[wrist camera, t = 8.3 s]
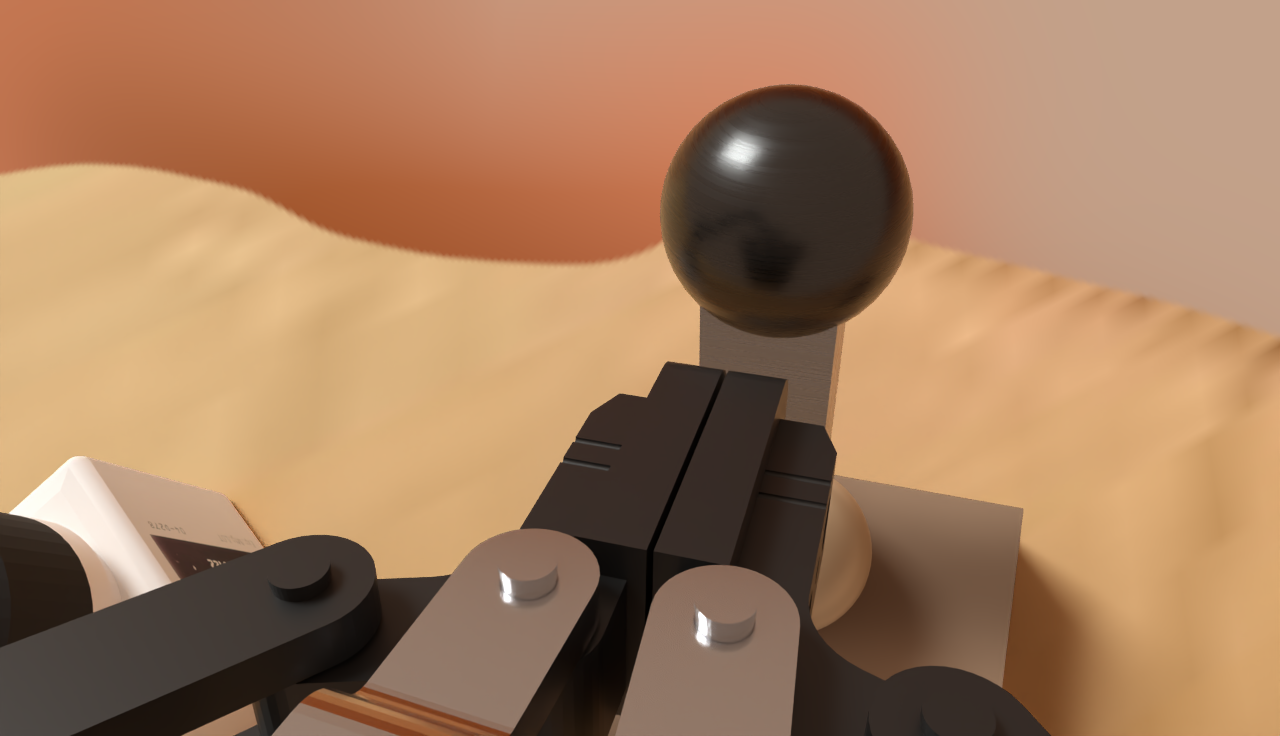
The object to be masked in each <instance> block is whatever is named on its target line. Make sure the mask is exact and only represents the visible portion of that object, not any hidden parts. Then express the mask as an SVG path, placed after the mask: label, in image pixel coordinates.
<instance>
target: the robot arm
mask: <svg viewBox="0 0 1280 736" xmlns="http://www.w3.org/2000/svg"><path fill="white" fill-rule="evenodd" d="M787 397H788V379H783V378H776V377H770V376H763V375H756V374H750V373H743V372H736V371H728V373H727V375H726V371H725V370H722V369H715V368H708V367H702V366H695V365H689V364H682V363H675V362H666V363H665V365H664V367H663V368H662V370H661V372H660V374H659V376H658V378H657V380H656V382H655V384H654V385H653V387H652V389H651V391H650V393H649V395H648V397H647V398H645V397H639V396H633V395H626V394H618V395H617V396H615V397H614V398H612V399H611V400H609V401H608V402H606V403H605V404H603V405H602V406H600V407H598V408H597V409H595V410H594V411H592V412H591V413H590V415H589V416H588V418H587V420H586V421H585V423H584V425H583V426H582V428H581V430H580V431H579V433H578V434H577V436H576V441H575V442H573V443H572V444H571V446H570V448H569V449H568V451H567V453H566V454H565V456H564V459H563V463H561V462H560V464H559V466H558V467H557V469H556V471H555V472H554V474H553V476H552V477H551V479H550V480H549V482H548V484H547V485H546V487H545V489H544V490H543V492H542V494H541V495H540V497H539V499H538V500H537V502H536V503H535V505H534V507H533V508H532V510H531V512H530V513H529V515H528V517H527V518H526V520H525V522H524V523H523V525H522V526H521V528H520V530H514V531H509V532H506V533H502V534H499V535H497V536H494V537H492V538H489V539H488V540H486V541H484V542H482V543H480V544H479V545H478V546H476V547H475V548H474V549H473V550H471V552H470V553H469V554H468V555H467V556H466V557H465V558H464V559H463V561H462V562H461V563H460V564H459V566H458V567H457V568H456V570H455V571H454V572H453V573H452V574H451V575H446V576H437V577H420V578H395V579H377V575H376V569H375V564H374V561H373V559H372V557H371V555H370V554H369V553H368V552H367V550H366V549H365V548H363V547H362V546H360V545H359V544H357V543H356V542H353V541H351V540H349V539H346V538H342V537H338V536H330V535H310V536H301V537H297V538H292V539H288V540H285V541H282V542H279V543H276V544H273V545H271V546H268V547H265V548H263V549H260V550H257V551H255V552H252V553H249V554H247V555H244V556H241V557H239V558H236V559H234V560H231V561H228V562H226V563H223V564H220V565H218V566H215V567H212V568H210V569H207V570H204V571H202V572H199V573H196V574H194V575H191V576H189V577H186V578H183V579H181V580H178V581H175V582H173V583H170V584H167V585H165V586H162V587H159V588H157V589H154V590H151V591H149V592H146V593H144V594H141V595H138V596H136V597H133V598H130V599H128V600H125V601H122V602H120V603H117V604H114V605H112V606H109V607H107V608H104V609H101V610H99V611H96V612H93V613H91V614H88V615H85V616H83V617H80V618H77V619H75V620H72V621H69V622H67V623H64V624H62V625H59V626H56V627H54V628H51V629H48V630H46V631H43V632H40V633H38V634H35V635H32V636H30V637H27V638H24V639H22V640H19V641H17V642H14V643H11V644H9V645H6V646H3V647H1V648H0V736H182V735H184V734H186V733H188V732H191V731H193V730H195V729H197V728H199V727H202V726H204V725H206V724H208V723H210V722H213V721H215V720H217V719H219V718H221V717H224V716H226V715H228V714H230V713H232V712H235V711H237V710H239V709H241V708H243V707H245V706H248V705H250V704H252V706H253V710H254V714H255V717H256V721H257V725H255V726H253V727H251V728H249V729H247V730H245V731H242V732H240V733H238V734H236V735H234V736H608V734H609V731H610V729H611V726H612V723H613V721H614V718H615V716H616V715H620V720H619V724H618V727H617V731H616V735H615V736H1051V735H1050V734H1049V733H1048V732H1047V731H1046V730H1045V729H1044V728H1043V727H1042V726H1041V724H1040V723H1039V722H1038V721H1037V720H1036V719H1035V718H1034V717H1033V716H1032V715H1031V714H1030V713H1029V712H1028V710H1027V709H1026V708H1025V707H1024V706H1023V705H1022V704H1021V703H1020V702H1019V701H1018V700H1017V699H1015V698H1014V697H1013V696H1012V695H1011V694H1010V693H1008V692H1007V691H1006V690H1004V689H1003V688H1001V687H1000V686H998V685H997V684H995V683H993V682H991V681H990V680H988V679H986V678H983V677H981V676H979V675H976V674H974V673H971V672H968V671H965V670H961V669H957V668H951V667H946V666H920V667H914V668H910V669H906V670H903V671H901V672H899V673H896V674H894V675H893V676H891V677H890V678H888V679H887V680H883V679H881V678H879V677H877V676H875V675H873V674H871V673H868V672H866V671H864V670H862V669H861V668H859V667H857V666H855V665H853V664H852V663H850V662H848V661H847V660H845V659H844V658H843V657H841V656H840V655H839V654H837V653H836V652H835V651H834V650H833V649H832V648H831V647H830V646H829V645H828V644H827V643H826V642H825V641H824V640H823V638H822V637H821V636H820V635H819V633H818V631H817V629H816V628H815V626H814V624H813V621H812V618H811V616H812V609H813V605H814V599H815V594H816V589H817V582H818V578H819V573H820V567H821V562H822V556H823V551H824V543H825V536H826V529H827V522H828V514H829V507H830V500H831V492H832V485H833V478H834V471H835V463H836V456H837V452H836V450H835V448H834V446H833V444H832V442H831V440H830V438H829V435H828V433H827V431H826V429H825V427H824V426H821V425H815V424H809V423H803V422H796V421H790V420H785V416H786V407H787Z"/></svg>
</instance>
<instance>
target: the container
mask: <svg viewBox="0 0 1280 736" xmlns="http://www.w3.org/2000/svg"><path fill="white" fill-rule="evenodd" d="M263 548H264V547H263V546H262V545H261V543H260V542H259V540H258V539H257V538H256V536H255V535H254V533H253V532H252V531H251V529H250V528H249V527H248V525H247V524H246V522H245V521H244V520H243V518H242V517H241V515H240V514H239V513H238V511H237V510H236V508H235V507H234V506H233V504H232V503H231V502H230V500H229V499H228V498H227V497H226V496H225V495H224V494H222V493H219V492H215V491H212V490H208V489H204V488H200V487H197V486H193V485H189V484H186V483H182V482H178V481H175V480H171V479H167V478H163V477H160V476H156V475H152V474H149V473H145V472H141V471H137V470H134V469H130V468H126V467H123V466H119V465H115V464H111V463H108V462H104V461H100V460H97V459H93V458H89V457H85V456H76V457H73V458H71V459H69V460H68V461H67V462H66V463H64V464H63V465H62V466H61V467H60V468H59V469H58V470H57V471H55V472H54V473H53V474H52V475H51V476H50V477H49V478H48V479H47V480H45V481H44V482H43V483H42V484H41V485H40V486H39V487H38V488H37V489H35V490H34V491H33V492H32V493H31V494H30V495H29V496H28V497H27V498H25V499H24V500H23V501H22V502H21V503H20V504H19V505H18V506H16V507H15V508H14V509H13V510H12V511H11V512H10V513H9V514H7V513H1V512H0V648H1V647H3V646H6V645H9V644H11V643H14V642H17V641H19V640H22V639H24V638H27V637H30V636H32V635H35V634H38V633H40V632H43V631H46V630H48V629H51V628H54V627H56V626H59V625H62V624H64V623H67V622H69V621H72V620H75V619H77V618H80V617H83V616H85V615H88V614H91V613H93V612H96V611H99V610H101V609H104V608H107V607H109V606H112V605H114V604H117V603H120V602H122V601H125V600H128V599H130V598H133V597H136V596H138V595H141V594H144V593H146V592H149V591H151V590H154V589H157V588H159V587H162V586H165V585H167V584H170V583H173V582H175V581H178V580H181V579H183V578H186V577H189V576H191V575H194V574H196V573H199V572H202V571H204V570H207V569H210V568H212V567H215V566H218V565H220V564H223V563H226V562H228V561H231V560H234V559H236V558H239V557H241V556H244V555H247V554H249V553H252V552H255V551H257V550H260V549H263ZM255 725H257V721H256V717H255V714H254V710H253V706H252V704H250V705H248V706H245V707H243V708H241V709H239V710H237V711H235V712H232V713H230V714H228V715H226V716H224V717H221V718H219V719H217V720H215V721H213V722H210V723H208V724H206V725H204V726H202V727H199V728H197V729H195V730H193V731H191V732H188V733H186V734H184V735H182V736H234V735H236V734H238V733H240V732H242V731H245V730H247V729H249V728H251V727H253V726H255Z"/></svg>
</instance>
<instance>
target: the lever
mask: <svg viewBox="0 0 1280 736" xmlns="http://www.w3.org/2000/svg"><path fill="white" fill-rule="evenodd" d="M660 220H661V230H662V238H663V242H664V246H665V250H666V253H667V256H668V259H669V261H670V263H671V266H672V268H673V271H674V272H675V274H676V276H677V277H678V279H679V280H680V282H681V284H682V285H683V287H684V288H685V290H686V291H687V292H688V293H689V294H690V295H691V296H692V298H693V299H694V300H695V301H696V302H697V303H698V304H699V305H700V366H702V367H708V368H715V369H722V370H725V371H726V375H727V373H728V371H736V372H743V373H750V374H756V375H763V376H770V377H776V378H783V379H788V397H787V407H786V416H785V420H790V421H796V422H803V423H809V424H815V425H821V426H824V427H825V429H826V431H827V433H828V435H829V438H830V440H831V433H832V425H833V417H834V409H835V401H836V393H837V385H838V377H839V369H840V361H841V353H842V345H843V337H844V329H845V322H847V321H848V320H850V319H852V318H853V317H855V316H857V315H858V314H859V313H861V312H862V311H863V310H864V309H865V308H867V307H868V306H869V305H870V304H871V303H873V302H874V301H875V300H876V299H877V297H878V296H879V295H880V294H881V293H882V292H883V290H884V289H885V288H886V287H887V286H888V285H889V283H890V282H891V280H892V278H893V277H894V275H895V273H896V272H897V270H898V268H899V266H900V265H901V262H902V260H903V257H904V255H905V253H906V250H907V246H908V243H909V238H910V234H911V230H912V221H913V194H912V188H911V183H910V179H909V175H908V171H907V168H906V165H905V163H904V160H903V158H902V155H901V153H900V151H899V150H898V148H897V146H896V144H895V143H894V141H893V140H892V138H891V136H890V135H889V134H888V133H887V131H886V130H885V129H884V128H883V127H882V126H881V124H880V123H879V122H878V121H877V120H876V119H875V118H874V117H872V116H871V115H870V114H869V113H868V112H867V111H865V110H864V109H863V108H862V107H860V106H859V105H857V104H856V103H854V102H852V101H850V100H849V99H847V98H845V97H843V96H841V95H839V94H836V93H834V92H830V91H827V90H824V89H820V88H817V87H812V86H806V85H793V84H791V85H790V84H787V85H774V86H768V87H764V88H759V89H754V90H752V91H748V92H746V93H743V94H740V95H738V96H736V97H734V98H732V99H730V100H728V101H726V102H724V103H723V104H721V105H720V106H718V107H717V108H716V109H714V110H713V111H712V112H710V113H708V114H707V115H706V116H705V117H704V118H703V119H702V120H701V121H700V122H699V123H698V124H697V125H696V126H695V127H694V128H693V129H692V130H691V131H690V133H689V134H688V135H687V137H686V138H685V139H684V141H683V142H682V144H681V145H680V146H679V148H678V150H677V152H676V154H675V156H674V157H673V160H672V162H671V164H670V167H669V170H668V172H667V175H666V178H665V181H664V186H663V191H662V197H661V209H660Z"/></svg>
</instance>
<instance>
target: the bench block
mask: <svg viewBox="0 0 1280 736" xmlns="http://www.w3.org/2000/svg"><path fill="white" fill-rule="evenodd" d="M1022 517H1023V508H1017V507H1012V506H1006V505H1000V504H995V503H989V502H984V501H978V500H972V499H967V498H961V497H955V496H950V495H944V494H938V493H933V492H927V491H921V490H916V489H910V488H904V487H899V486H893V485H888V484H882V483H876V482H871V481H865V480H859V479H854V478H848V477H842V476H837V475H834V478H833V485H832V492H831V500H830V507H829V514H828V522H827V529H826V536H825V543H824V551H823V556H822V562H821V567H820V573H819V578H818V582H817V589H816V594H815V599H814V605H813V609H812V616H811V618H812V621H813V624H814V626H815V628H816V629H817V631H818V633H819V635H820V636H821V637H822V638H823V640H824V641H825V642H826V643H827V644H828V645H829V646H830V647H831V648H832V649H833V650H834V651H835V652H836V653H837V654H839V655H840V656H841V657H843V658H844V659H845V660H847V661H848V662H850V663H852V664H853V665H855V666H857V667H859V668H861V669H862V670H864V671H866V672H868V673H871V674H873V675H875V676H877V677H879V678H881V679H883V680H887V679H888V678H890V677H891V676H893V675H894V674H896V673H899V672H901V671H903V670H906V669H910V668H914V667H920V666H946V667H951V668H957V669H961V670H965V671H968V672H971V673H974V674H976V675H979V676H981V677H983V678H986V679H988V680H990V681H991V682H993V683H995V684H997V685H998V686H1000V687H1001V688H1002V685H1003V676H1004V668H1005V659H1006V651H1007V643H1008V634H1009V626H1010V618H1011V609H1012V601H1013V592H1014V584H1015V576H1016V567H1017V559H1018V551H1019V542H1020V534H1021V525H1022ZM619 720H620V715H616V716H615V718H614V721H613V723H612V726H611V729H610V731H609V734H608V736H615V735H616V731H617V727H618V724H619Z"/></svg>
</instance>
